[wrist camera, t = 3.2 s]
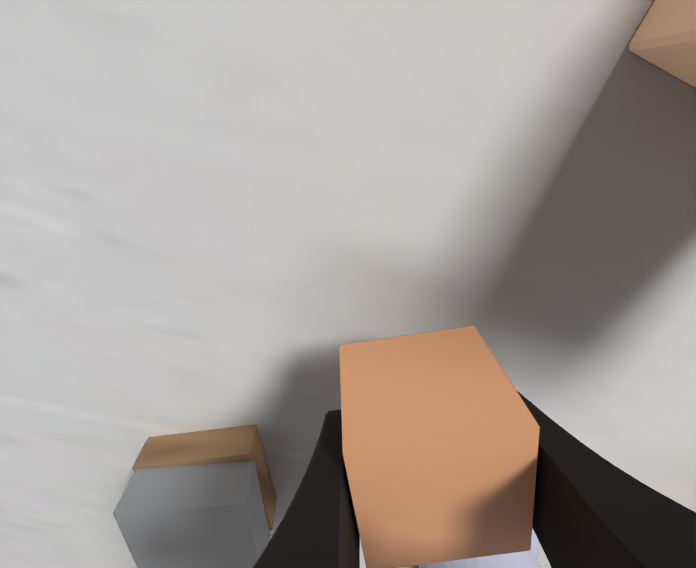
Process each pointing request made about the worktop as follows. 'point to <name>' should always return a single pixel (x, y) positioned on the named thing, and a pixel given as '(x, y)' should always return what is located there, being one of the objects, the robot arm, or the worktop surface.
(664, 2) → the soap dispenser
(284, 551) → the robot arm
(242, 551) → the slate slab
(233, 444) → the walnut slab
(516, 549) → the terracotta cube
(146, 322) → the worktop surface
